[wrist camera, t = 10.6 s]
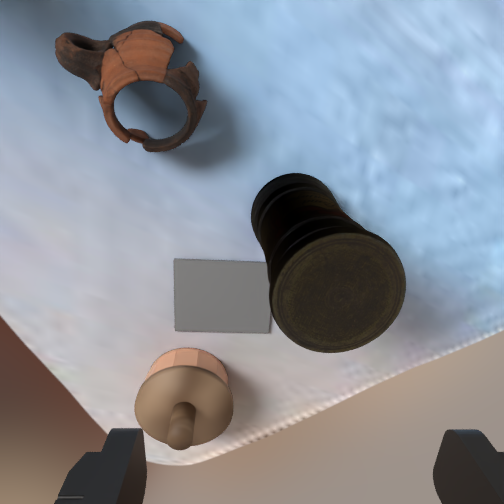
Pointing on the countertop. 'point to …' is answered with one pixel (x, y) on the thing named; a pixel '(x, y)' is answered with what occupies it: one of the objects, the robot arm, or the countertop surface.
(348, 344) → the container
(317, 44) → the countertop surface
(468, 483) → the robot arm
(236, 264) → the mat
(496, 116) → the countertop surface
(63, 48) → the pottery mug
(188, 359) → the bowl
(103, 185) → the countertop surface
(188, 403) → the lid
